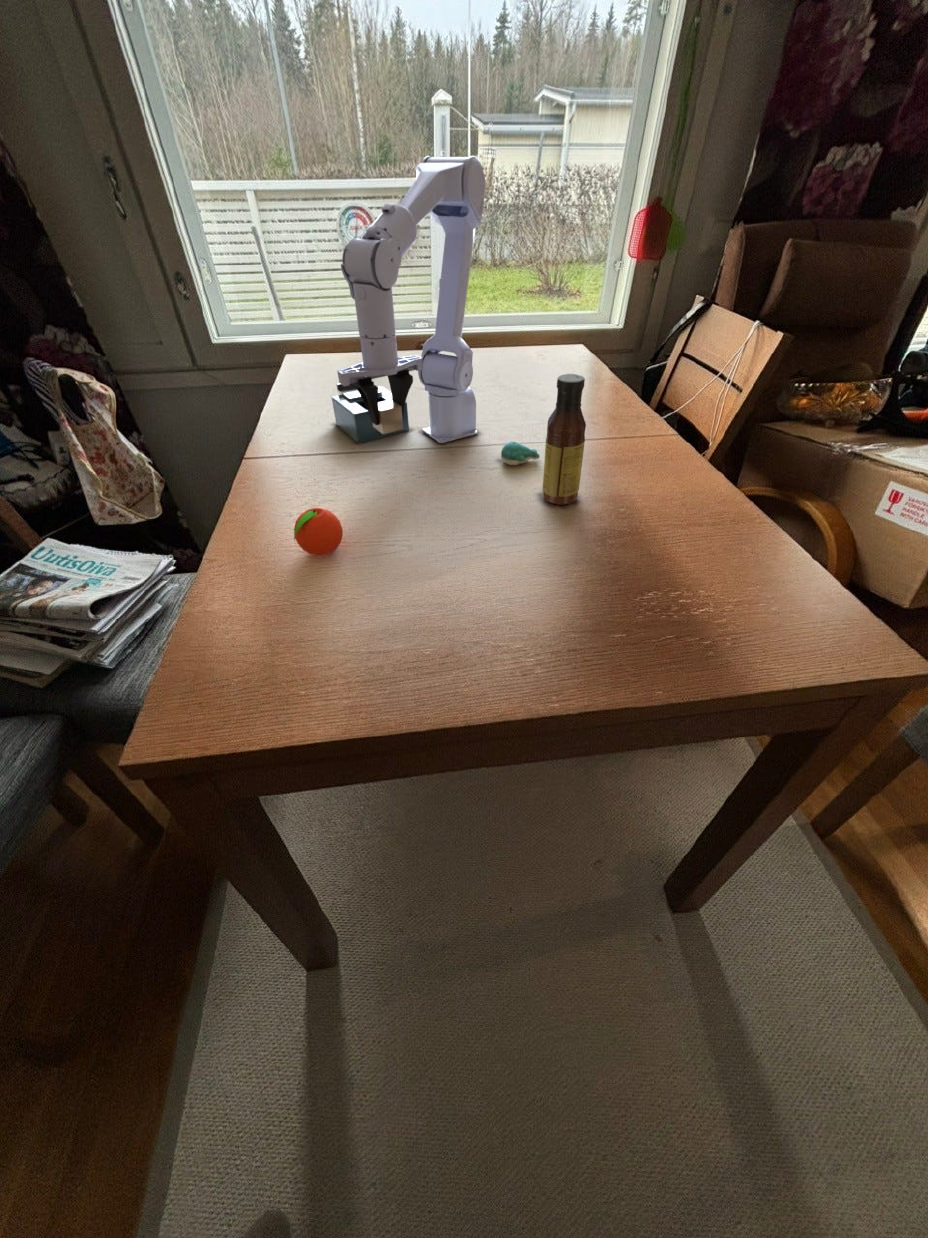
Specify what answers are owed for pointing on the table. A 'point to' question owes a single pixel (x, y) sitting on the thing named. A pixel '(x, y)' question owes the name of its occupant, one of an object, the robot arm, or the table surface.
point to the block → (389, 417)
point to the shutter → (350, 391)
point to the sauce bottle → (565, 442)
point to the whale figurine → (517, 453)
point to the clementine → (318, 531)
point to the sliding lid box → (362, 417)
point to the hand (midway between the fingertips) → (387, 420)
